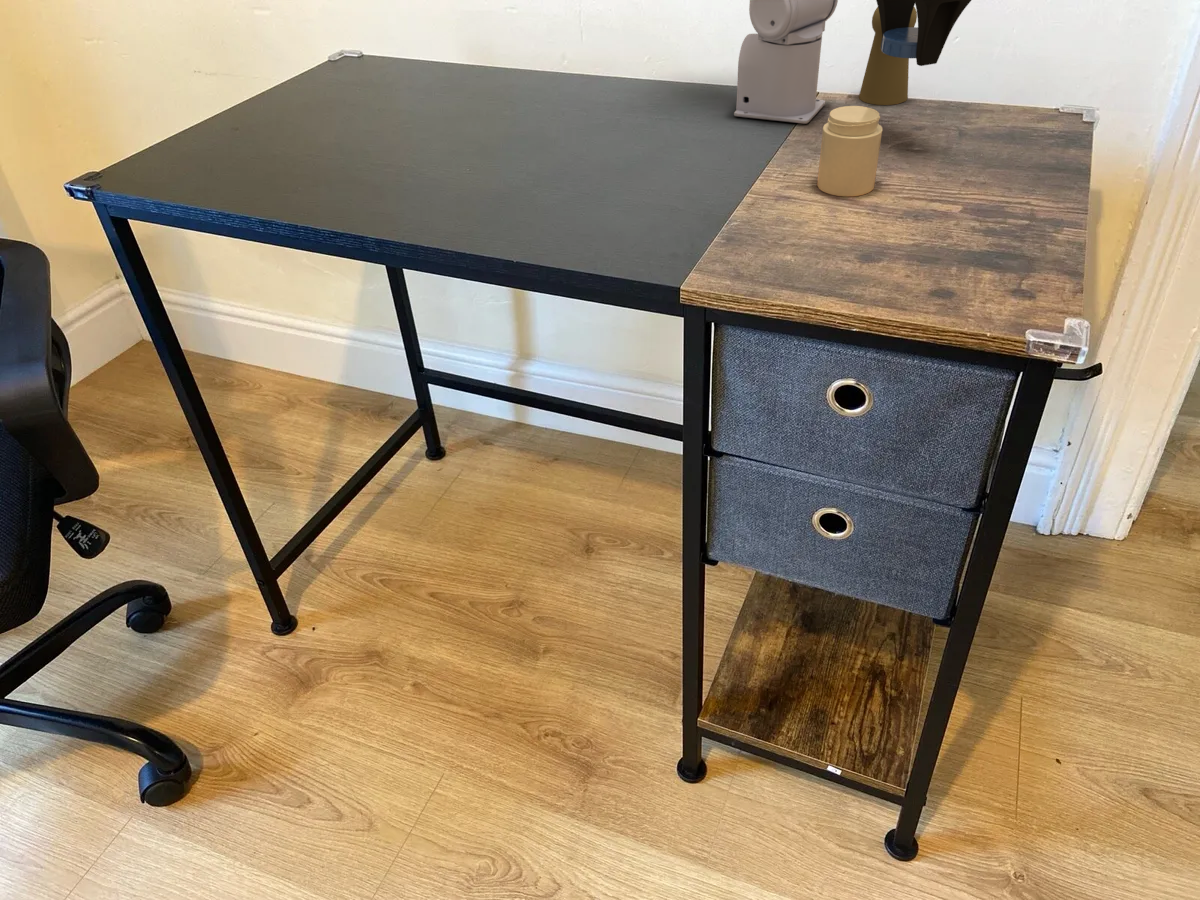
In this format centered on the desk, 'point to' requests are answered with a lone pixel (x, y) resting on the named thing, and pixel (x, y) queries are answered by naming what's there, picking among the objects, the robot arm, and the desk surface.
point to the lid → (900, 42)
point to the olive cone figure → (885, 71)
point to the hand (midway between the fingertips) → (909, 56)
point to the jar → (849, 151)
